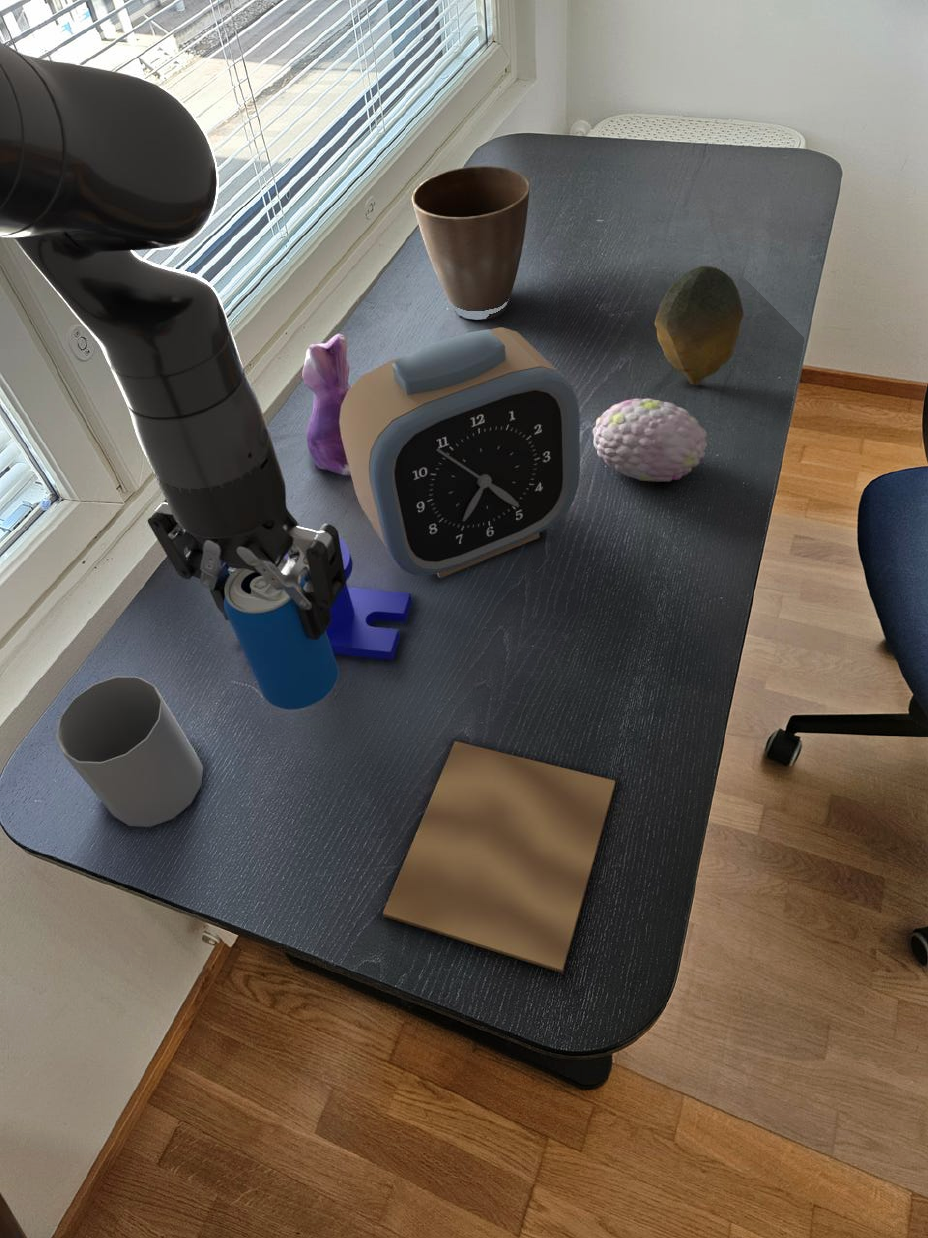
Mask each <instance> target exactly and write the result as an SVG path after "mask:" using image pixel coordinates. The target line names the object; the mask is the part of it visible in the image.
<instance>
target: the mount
mask: <svg viewBox="0 0 928 1238" xmlns="http://www.w3.org/2000/svg"><path fill="white" fill-rule="evenodd" d="M339 540H340V546H341V552H342V558H343V564H344V570H345V575H346V582H347V581H348V580H349V578H350V576H351V574H352V572H353V567H354V566H353V565H354V563H353V559H352V554H351V552H350V548H349V546H348V544H347V543H346V541H345V540H344V539H342V538H341V537H339ZM284 558H286V559H289V557H288V554H286V556H285V557H284ZM412 603H413V598H412V595H411V592H405V591H393V590H382V589H373V588H361V587H348V584H347V583H346V584H345V586H344V587H343V588H342V589H341V591H340V593H339V594H338V596H337V598H336V599H335V602H334V604H333V606H332V607H331V608H330V609H329V610H330V613H331V616H332V619H331V622H330V624H329V626H328V627H327V629H326V633H327V636H328V639H329V642H330V645H331V648H332V651H333V654H334V655H341V656H351V657H360V658H370V659H379V660H390V661H393V660H394V657H395V655H396V651H397V648H398V645H399V643H400V639H401V636H400V632H399V629H397V628H388V627H387V628H386V627H378V626H376V627H375V626H371V624H372V623H373V622H375V621H389V622H398V623H399V622H400V623H406V622H407V618H408V616H409V612H410V610H411V606H412Z"/></svg>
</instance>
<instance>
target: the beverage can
mask: <svg viewBox="0 0 928 1238" xmlns="http://www.w3.org/2000/svg"><path fill="white" fill-rule="evenodd" d="M287 562H288V559H286V558H284V559H283V560H282V562H281V563H280V565H279V566H278V567H277V568H278V569H279V570H280V571H282V570H283V568H284V567H285V565H286V564H287ZM233 571H234V572H233V573H232V574H231V575H230V576H229V578H228V580H227V582H226V584H225V590H224V591H225V598H224V609H225V612H226V614H227V616H228V619H229V620H228V622H229V623H230V625H231V627H232V630H233V631H234V634H235V636H236V638H237V641H238V643H239V645H240V647H241V649H242V652H243V654H244V656H245V658H246V661H247V663H248V665H249V668H250V670H251V673H252V674H253V676H254V678H255V681H256V683H257V685H258V687H259V689H260V691H261V694H262V696H263V697H264V699H265V700H266V701H267V702H268V703H269V704H271V705H272V706H273V707H275V708H279V709H283V710H288V711H289V710H291V711H293V710H294V711H295V710H302V709H306V708H309V707H311V706H314V705H316V704H317V703H319V702H322V701H323V699H325V698H326V697H327V696H328V695H330V693H331V692H332V691H333V689H334V687H335V686H336V684H337V681H338V678H339V667H338V662H337V660H336V657H335V654H333V651H332V648H331V645H330V642H329V639H328V636H327V633H326V631H325V632H324V634H323V635H321V636H320V638H319V639H318V640H314V639H309V638H307V636H306V633H305V630H304V628H303V625H302V622H301V619H300V617H299V614H298V611H297V608H296V607H297V606H298V605H297V604H296V603H295V602H294V601H293V600H292V598H291V597H290V596H289V595H288V594H287V593H286V592H285V591H284V590H280V591H277V590H275V589H274V588H273V587H272V586H271V585H270V583H269V582H268V581H267V580H266V579H265V578H264V577H263V576H262V575H261V574H260V573H257V572H254V571H251V570H249V569H236V568H235V570H233ZM297 581H298V583H299V584H300V585H301V587H302V588H303V587H304V586H305V584H306V583H307V582H306V581H305V580H304V579H303V578H302V577H301V575H299V576H298V578H297Z"/></svg>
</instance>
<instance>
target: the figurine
mask: <svg viewBox="0 0 928 1238" xmlns="http://www.w3.org/2000/svg"><path fill="white" fill-rule="evenodd" d="M349 375H350V363H349V361H348V341H347V338H346V336H345V335H344V334H342V333H337V334H335V335H334V336H332V337H331V338H330V339H329V340H328V341H327V342H325V343H317V344H315V343H312V344H310V345H309V346H308V349H307V350H306V354H305V360H304V364H303V367H302V376H301V377H302V380H303V382H304V384H305V385H306V386H307V387H308V389H309V390H310V391H312V392H313V393H314V398H313V407H312V413H311V416H310V419H309V423H308V424H307V425H308V426H307V431H306V444H307V447H308V450H309V453H310V455H311V457H312V459H313V461H314V463H315V465H316V467H317V468H318V469H320V470H323V471H329V472H331V473H335V474H337V475H341V476H351V473H350V469H349V465H348V461H347V457H346V453H345V449H344V446H343V442H342V438H341V431H340V424H339V420H340V411H341V405H342V403H343V400H344V398H345V396H346V394H347V391H348V390H349V389H350V388H351V387H352V386H351V385H350V383H349Z"/></svg>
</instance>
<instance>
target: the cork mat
mask: <svg viewBox="0 0 928 1238" xmlns="http://www.w3.org/2000/svg"><path fill="white" fill-rule="evenodd" d="M615 787H616V780H614V779H610V778H607V777H602V776H598V775H594V774H589V773H585V772H583V771H578V770H575V769H574V770H573V769H570V768H565V767H561V766H559V765H553V764H549V763H546V762H542V761H538V760H533V759H529V758H525V757H522V756H517V755H512V754H509V753H505V752H502V751H501V752H500V751H497V750H493V749H488V748H485V747H481V746H477V745H472V744H468V743H465V742H460V741H456V740H455V741H454V743H453V745H452V747H451V749H450V751H449V755H448V757H447V759H446V762H445V764H444V766H443V768H442V771H441V774H440V776H439V779H438V781H437V784H436V785H435V788H434V791H433V793H432V795H431V798H430V799H429V803H428V805H427V807H426V809H425V812H424V815H423V817H422V819H421V821H420V824H419V826H418V829H417V831H416V833H415V835H414V838H413V841H412V843H411V845H410V848H409V850H408V852H407V855H406V856H405V857H406V858H405V859H404V861H403V864H402V867H401V868H400V871H399V874H398V876H397V878H396V881H395V883H394V886H393V888H392V890H391V893H390V895H389V897H388V900H387V901H386V905H385V907H384V909H383V912H382V915H383V917H384V918H387V919H391V920H393V921H394V920H395V921H396V922H400V923H404V924H407V925H410V926H414V927H416V928H418V929H422V930H426V931H429V932H432V933H435V934H438V935H440V936H441V935H442V936H445V937H447V938H451V939H454V940H457V941H460V942H463V943H467V944H470V945H473V946H476V947H479V948H482V949H485V950H488V951H492V952H494V953H498V954H501V955H504V956H507V957H511V958H513V959H516V960H520V961H522V962H526V963H529V964H533V965H535V966H539V967H542V968H545V969H548V970H551V971H553V972H554V971H555V972H556V973H557V972H558V973H561V974H563V973H564V970H565V966H566V963H567V959H568V956H569V952H570V948H571V946H572V942H573V938H574V934H575V930H576V927H577V923H578V920H579V916H580V912H581V909H582V905H583V901H584V899H585V894H586V891H587V888H588V883H589V880H590V877H591V873H592V869H593V866H594V862H595V860H596V855H597V852H598V848H599V844H600V842H601V841H600V840H601V837H602V835H603V834H602V833H603V829H604V826H605V823H606V820H607V815H608V812H609V809H610V805H611V801H612V798H613V794H614V791H615Z"/></svg>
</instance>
